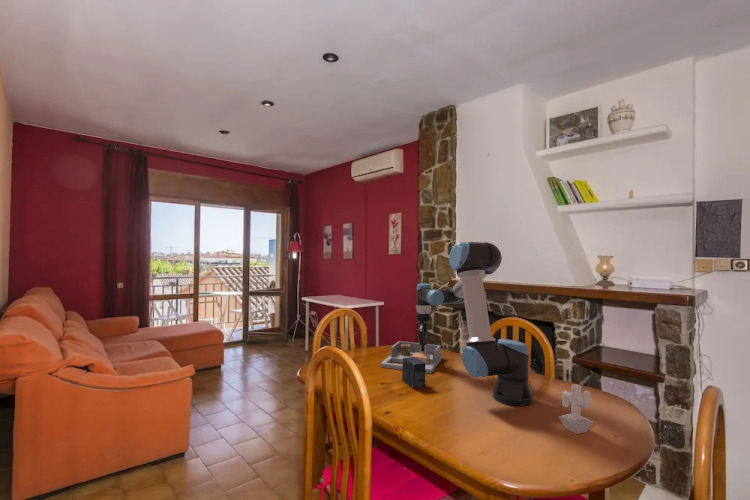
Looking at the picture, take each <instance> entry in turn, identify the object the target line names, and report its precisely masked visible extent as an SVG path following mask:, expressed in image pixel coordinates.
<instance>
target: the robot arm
mask: <svg viewBox="0 0 750 500" xmlns="http://www.w3.org/2000/svg"><path fill="white" fill-rule="evenodd" d="M448 257H449V258H448V259H449V260H448V263H449V266H450V268H451V270H454V271H455V272H456V276H457V277H458V278H460V279H459V280H458V281H457V282H456V283H455V285H453V286H452V287H451V288H439V289H437V288H435V289H433V288H432V285H431V283H418V284H417V285H416V305H415V308H416V320H417V321H419V325H418V328H417V329H418V340H419V342H418V343H419V345H421V349H420V353H425V354H426V345H425V344H427V345H428V344H429V343H428V334H429V333H428V332H429V323H428V322H429V321H431V319H432V314H431V313H432V306H441V305H443V304H444V305H448V304H450V305H451V304H456V305H457V304H458V305H459V304H463V303H464V308H465V315H466V316H465V317H466V323H467V324H466V325H467V331H468V339H467V340H466V341H465V344H466V346H465V347H463V348H462V351H461V360H462V363H463V364H462V365H463V366H464V368H465V370H466V372H468V374H469V375H470V376H472V377H475V378H486V377H491V376H492V377H493V376H496V377H497V378H496V381H495V384H494V386H493V389H492V397H493V399H495V401H497V402H499V403H501V404H505V405H508V406H515V407H517V406H518V407H524V406H529V405H531V404H533V401H534V395H533V392H532V388H531V386H530V383H529V360H530V354H529V347H528V345H527V344H526V343H524V342H523V341H522V342H521V341H517V340H513V339H508V338H499V339H498V340H497V339H496V338H495V337H493V336H492V332H491V326H490V318H489V313H488V312H489V311H488V306H487V298H486V292H485V287H484V286H485V285H484V279H485V278H486V277H488V275H490V276H491V275H492V274H494V273H496V271H497V270H498V269H499V267H500V266H501V263H502V259H503V256H502V252H501V250H500V248H499V247H497V245H495V244H494V243H491V242H487V241H485V242H484V241H483V242H481V241H480V242H478V241H476V242H475V241H461V242H456V243H455V244H454V245H453V246H452V247H451V250H450V252H449V256H448Z"/></svg>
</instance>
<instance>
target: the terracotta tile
mask: <svg viewBox="0 0 750 500" xmlns="http://www.w3.org/2000/svg"><path fill="white" fill-rule="evenodd" d="M411 357H416V358H417V359H419V360H421V361H423V362H424V363H426V364H427V363H428V362H429V360H430V354H425V353H416V352H415V353H414V354H413V355H412V356H411Z"/></svg>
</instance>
